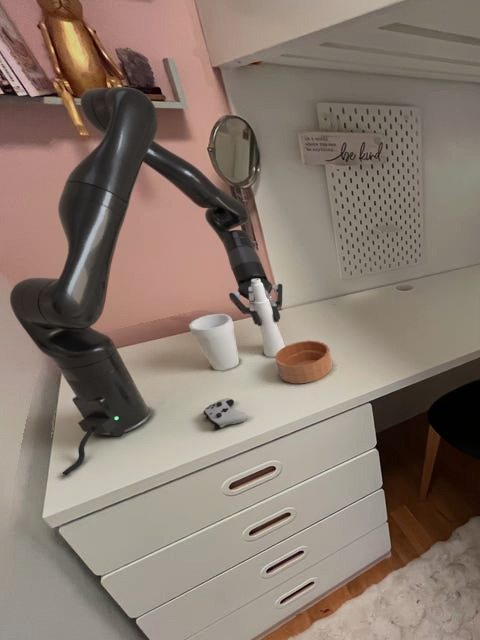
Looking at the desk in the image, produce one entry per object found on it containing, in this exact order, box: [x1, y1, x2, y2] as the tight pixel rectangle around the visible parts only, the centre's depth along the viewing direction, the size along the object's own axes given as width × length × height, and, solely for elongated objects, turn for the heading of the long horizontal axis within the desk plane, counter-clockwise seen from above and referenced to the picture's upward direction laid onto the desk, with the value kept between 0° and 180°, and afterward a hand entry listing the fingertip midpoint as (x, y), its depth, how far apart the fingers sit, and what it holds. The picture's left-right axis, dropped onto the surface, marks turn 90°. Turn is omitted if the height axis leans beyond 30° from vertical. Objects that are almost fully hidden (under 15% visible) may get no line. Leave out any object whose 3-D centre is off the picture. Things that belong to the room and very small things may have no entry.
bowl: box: [274, 340, 333, 384], centre depth 107 cm, size 13×13×6 cm
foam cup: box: [188, 313, 240, 371], centre depth 106 cm, size 10×9×13 cm
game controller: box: [202, 397, 249, 430], centre depth 90 cm, size 10×5×6 cm
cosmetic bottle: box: [251, 278, 287, 358], centre depth 110 cm, size 6×6×22 cm
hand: (268, 322), depth 109 cm, fingers closed on cosmetic bottle, 4 cm apart
